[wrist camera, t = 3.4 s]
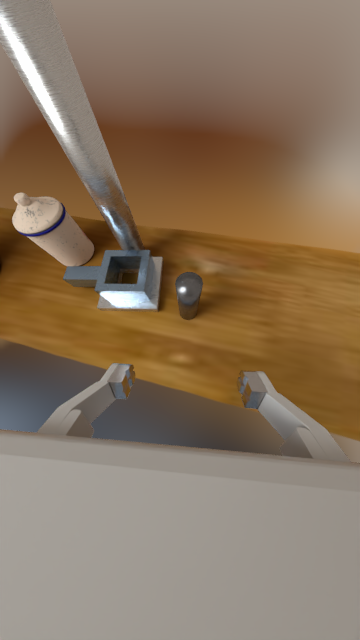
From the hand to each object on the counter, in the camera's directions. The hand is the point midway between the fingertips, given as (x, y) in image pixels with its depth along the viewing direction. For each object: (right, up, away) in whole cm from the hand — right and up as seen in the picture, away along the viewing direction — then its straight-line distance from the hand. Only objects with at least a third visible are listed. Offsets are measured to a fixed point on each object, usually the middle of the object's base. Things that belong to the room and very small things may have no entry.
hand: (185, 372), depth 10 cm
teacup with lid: (-27, +21, +22) cm, 41 cm away
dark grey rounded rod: (+1, +6, +16) cm, 17 cm away
